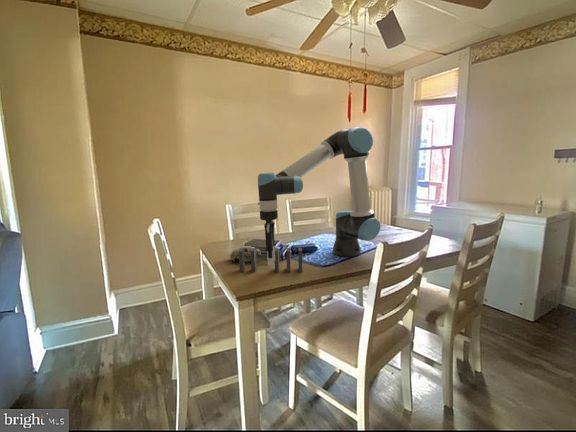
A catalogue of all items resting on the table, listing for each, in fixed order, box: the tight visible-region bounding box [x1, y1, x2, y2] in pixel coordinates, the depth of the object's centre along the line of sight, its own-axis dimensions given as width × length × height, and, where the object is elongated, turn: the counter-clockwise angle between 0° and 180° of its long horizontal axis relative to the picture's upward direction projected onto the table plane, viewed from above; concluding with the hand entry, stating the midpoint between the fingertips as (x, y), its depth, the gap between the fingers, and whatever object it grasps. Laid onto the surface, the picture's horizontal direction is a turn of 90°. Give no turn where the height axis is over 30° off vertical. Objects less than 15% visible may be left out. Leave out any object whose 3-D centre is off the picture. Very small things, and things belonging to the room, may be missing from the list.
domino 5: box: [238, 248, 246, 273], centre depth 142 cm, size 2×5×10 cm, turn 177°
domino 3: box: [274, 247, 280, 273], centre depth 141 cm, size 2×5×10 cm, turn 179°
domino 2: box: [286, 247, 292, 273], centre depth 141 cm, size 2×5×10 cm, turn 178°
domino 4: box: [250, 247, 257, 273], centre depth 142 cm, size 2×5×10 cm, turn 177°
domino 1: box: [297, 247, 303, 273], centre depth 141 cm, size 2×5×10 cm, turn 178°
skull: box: [229, 245, 262, 264], centre depth 156 cm, size 10×16×10 cm
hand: (271, 262), depth 133 cm, fingers closed on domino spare, 5 cm apart
